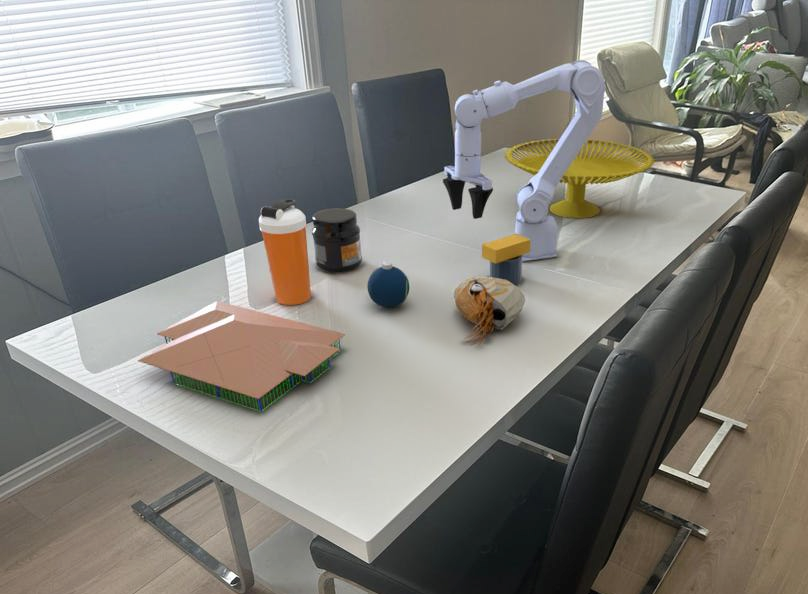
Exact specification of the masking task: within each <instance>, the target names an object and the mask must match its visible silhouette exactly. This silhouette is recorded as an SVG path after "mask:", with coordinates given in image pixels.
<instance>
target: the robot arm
mask: <svg viewBox="0 0 808 594" xmlns="http://www.w3.org/2000/svg"><path fill="white" fill-rule="evenodd" d="M606 89H607V86H606V83H605V79H604V76H603V74H602V72H601V70H600V69H599V68H597V67H596V66H593V65H592V64H591V63H590V62H589V61H587V60H584V59H579V60H578V59H577V60H576V61H573V62H572V63H570V62H568V63H563V64H561V65H558V66H555V67H554V68H551V69H548V70H547V71H544V72H542V73H539V74H537V75H534V76H532V77H530V78H527V79H525V80H522V81H519V82H518V83H516V84H513V83H510V82H508V81H503V82H502V81H501V80H496V81H494V82H493V85H491V86H490V87H487V88H484V89H481V90H478V89H475V90H472V94H470V93H467V94H462V95H461V96H459V97H458V98H457V100H456V101H455V104H454V107H453V110H454V115H455V117H456V119H455V121H456V122H455V131H454V165H446V166H444V176H446V178H442V184H443V185H444V186H445V189H446V191H447V194H448V197H449V200H450V205H451V208H452V210H453V211H455V210H461V209H462V206H463V196H464V189H465V186H466V185H465V184H466V183H468V184H471V185H473V186H474V187H471V188H468V189H467V191H468V194H469V197H470V200H471V209H472V210H471V211H472V213H471V215H472V218H473V219H474V220H477V219H481V218H483V214H484V211H485V208H486V204H487V202H488V200H489V198H490V196H491V195H492V193H493V191H494V187H493V180H492V179H490V178H488V177H487V176H485V175H484V174H483V173H482V172H481V169H482V168H481V164H482V131H481V124H482V123H481V122H482V121H483V119H489V118H492V117H495V116H497V115H498V116H499V115H500V114H503V113H505V112H506V113H507V112H509V111H511V110H514V109H515V108H516V106H517V104H518V103H519V102H520V101H521V100H524V99H528V98H530V97H533V96H537V95H540V94H542V93H546V92H549V91H551V90H558V91H562V92H564V93H569V94H570V93H572V96H573V98H574V103H575V107H576V113H575V115H574V116H573V118H572V119H571V120H570V122H569V124H568V126H566V129H565V130H564V132H563V133H562V134H561V136H560V138H559V139H560V140H559V141H558V143H555V147H554V148H553V149H552V152H551V153H550V152H549V154H550V155H549V157H548V158H547V160H546V161H545V163H544V164H543V166H542V167H541V169H540V171H539V172H538V173H537V174H536V175H535V176H534V175H532V177H531V178H530V179H529V181H528V182H527V183H526V184H525V185H523V186H522V187H520V188H519V189H518V191H517V193H516V196H515V201H516V204H517V206H518V208H519V210H518V211H517V213H516V214H515V225H514V227H515V229H514V234H519V235H521V236H523V237H526V238H528V239H531V242H530V252H529V253H526V254H523V255H522V263H523V262H529V261H530V262H531V261H537V260H544V259H552V258H557V257H558V254H557V243H558V242H557V239H558V226H557V221H556V219H555V218H554V217H553V216H552V215H548V213H549V208H550V204H551V202H552V201H553V199H554V195H555V191H556V188H557V186H558V184H559V183H560V182H559V181H560V180H561V178H562V177H563V175H564V174H565V172H566V171H567V169H568V168H569V166H570V165H571V163H572V162H573V160H574V159H575V157H576V156H577V154H578V155H579V153H580V152H581V148H582V147H583V145H584V144H585V145H586V143H585V142H588V140H589V138H590V136H591V135H592V133H593V131H594V130H595V129H596V127H597V126H598V124H599V122H600V121H601V119H602V117H603V110H604V109H603V108H604V99H605V92H606ZM587 139H588V140H587Z"/></svg>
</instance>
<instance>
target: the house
mask: <svg viewBox="0 0 808 594" xmlns="http://www.w3.org/2000/svg"><path fill="white" fill-rule="evenodd" d="M156 335H157V336H161V337H163V338H164V341H165V344H164V345H163V346H160V347H159V348H156V349H155V350H153V351H151V352H150V353H148V354H146V355H144V356H143V357H141V358H139V359H137V362H139V363H142V364H145V365H149V366H152V367H154V368H158V369H162V370H165V371H168V372H170V376H171V380H172V384H174V385H177V386H180V387H183V388H186V389H189V390H191V391H192V390H193V391H195V392H199V393H202V394H204V395H207V396H211V397H213V398H217V399H220V400H223V401H226V402H229V403H232V404H236V405H238V406H241V407H244V408H248V409H251V410H254V411H257V412H263V411H264V410H266V409H267V408H269V406H271V405H272V404H274V403H276V401H277V400H279V399H280V398H281V397H283V396H284V395H286V393H288V392H289V391H290V390H292V389H293V388H294V387H296V386H297V385H298V384H300V383H301V382H302V381H303V382H306V383H310V384H311V383H313V381H315V380H316V379H318V378H319V377H320V376H322V375H323V374H324V373H325V372H327V371H328V370H329V369H331V361H330V360H332V358H334V357H335V356H336V355H338V354H340V352H341V351H342V350H341V349H342V348H341V340H340V339H342V338H343V337H345V336H346V333H343V332H339V331H336V330H332V329H328V328H323V327H320V326H316V325H312V324H308V323H304V322H301V321H297V320H294V319H289V318H284V317H281V316H277V315H273V314H269V313H265V312H262V311H261V312H260V311H258V310H254V309H250V308H246V307H242V306H238V305H234V304H231V303H226V302H223V301H219V300H216V301H214V302H212V303H210V304H209V305H207V306H205V307H203V308H201V309H199V310H197V311H196V312H194V313H192V314H191V315H189V316H186V317H184V318H183V319H181V320H179V321H178V322H175V323H174V324H172V325H169V326H168V327H166V328H164V329H163V330H160V331H159V332H157V333H156ZM320 368H321V373H320ZM323 368H324V370H323ZM317 369H318V370H317ZM317 371H318V373H317ZM314 372H315V377H314ZM293 374H294V375H293ZM311 374H312V378H311ZM317 374H318V375H317ZM307 375H308V379H309V381H308V380H307ZM297 376H298V380H299V381H298V380H297ZM303 377H305V379H303ZM294 378H295V383H296V384H295V383H294ZM191 379H192V380H191ZM181 380H182V381H181ZM184 380H185V381H186V382H185V381H184ZM195 380H196V381H195ZM188 381H189V382H188ZM198 381H199V382H198ZM178 382H179V383H178ZM192 382H193V386H194V388H193V386H192ZM182 383H183V385H182ZM185 383H186V384H185ZM189 383H190V386H189ZM206 384H207V385H206ZM186 385H187V386H186ZM196 385H197V387H196ZM199 385H200V386H199ZM285 385H286V389H287V390H286V389H285ZM203 386H204V388H203ZM278 386H279V387H278ZM200 387H201V390H200ZM207 387H208V390H209V392H208V391H207ZM282 387H283V391H282ZM274 388H275V389H274ZM197 389H198V390H197ZM204 389H205V392H204ZM223 389H224V390H223ZM211 390H212V393H211ZM278 390H279V391H280V396H279V391H278ZM271 391H272V392H271ZM220 392H221V394H220ZM223 392H224V393H223ZM275 392H276V394H277V398H276V396H275ZM282 392H283V393H282ZM235 393H236V394H235ZM268 393H269V394H268ZM238 394H240V395H238ZM227 395H229V399H230V400H228V396H227ZM231 395H232V397H233V401H232V397H231ZM242 395H243V396H242ZM272 395H273V399H274V401H273V400H272ZM224 396H225V398H224ZM235 396H236V398H237V402H236V399H235ZM246 396H247V397H246ZM264 396H265V397H264ZM239 397H240V400H241V403H240V400H239ZM250 398H251V399H250ZM261 398H262V399H261ZM268 398H270V404H269V399H268ZM243 399H244V402H245V405H244V402H243ZM247 400H248V403H249V406H248V403H247ZM265 400H266V403H267V406H266V404H265ZM251 401H252V405H253V407H252V405H251ZM261 402H263V407H264V408H263V409H262V404H261ZM255 405H256V407H255ZM258 407H259V408H258Z"/></svg>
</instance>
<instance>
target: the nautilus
mask: <svg viewBox="0 0 808 594" xmlns="http://www.w3.org/2000/svg"><path fill="white" fill-rule="evenodd" d="M525 295H526V294H524V293H523V292H522V290H521V289H520V288H519V287H517V285H514V284H512V283H511V282H509V281H507V280H504V279H498V278H493V277H489V276H479V277H478V276H477V277H476V276H475V277H471V278H468V279H466V280H464V281H462V282H461V283H460V284H459V285H458V286H457V287H455V289H454V293H453V299H454V303H455V306H456V308H457V310H458V311H459V313H460V314H461V316H463V317H462V318H465V319H466V320H467V321H468V322H470V323H472V324H476V325H475V326H474V327H473V328H471V329H470V331H472V330H474V331H472V332H471V334H469V335H467V336H466V337H464V338H463V339H464V340H465V339H469V340H468V341H465V343H470V342H474V343H472V344H471V345H470V347H472V346H474V345H475V344H477V343H478V342H479V341H480V342H479V345H481V344H482V339H483V338H484V337H485V336H486V340H488V338H489V335H490V334H491V333H492V331H494V329H497V330H499V331H503V330H504V329H505V328H506V327H507V326H508V325H509V324H510V323H511V322H512V321H513V320H514V319H516V318H517V316H518V315H519V314H520V313H521V311H522V310H523V308H524V307H525V304H526V296H525ZM478 326H479V327H478ZM475 328H476V329H475ZM478 330H479V331H478ZM488 332H489V333H488ZM481 333H482V335H481ZM487 333H488V334H487ZM479 335H481V336H480V337H478V336H479ZM477 337H478V338H477Z"/></svg>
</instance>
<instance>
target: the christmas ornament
mask: <svg viewBox="0 0 808 594" xmlns="http://www.w3.org/2000/svg"><path fill="white" fill-rule="evenodd" d="M366 287H367V289H366V290H367V294H368V296H369V298H370V300H372V302H373V303H375V304H376V305H377V306H379V307H382V308H385V309H387V308H388V309H392V308H396V307H398V306H400V305H402V304H403V303H404V302H405V301H406V300H407V298H408V296H409V293H410V281H409V278H408V276H407V275H406V274H405V272H404V271H403V270H401V269H400V268H399V267H396V266H393V263H392V262H391V261H388V260H386V261H383V262H382V263H381V266H380V267H378V268H376V269H375V270H374V271H372V273H371V274H370V276H369V278H368V280H367V286H366Z"/></svg>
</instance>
